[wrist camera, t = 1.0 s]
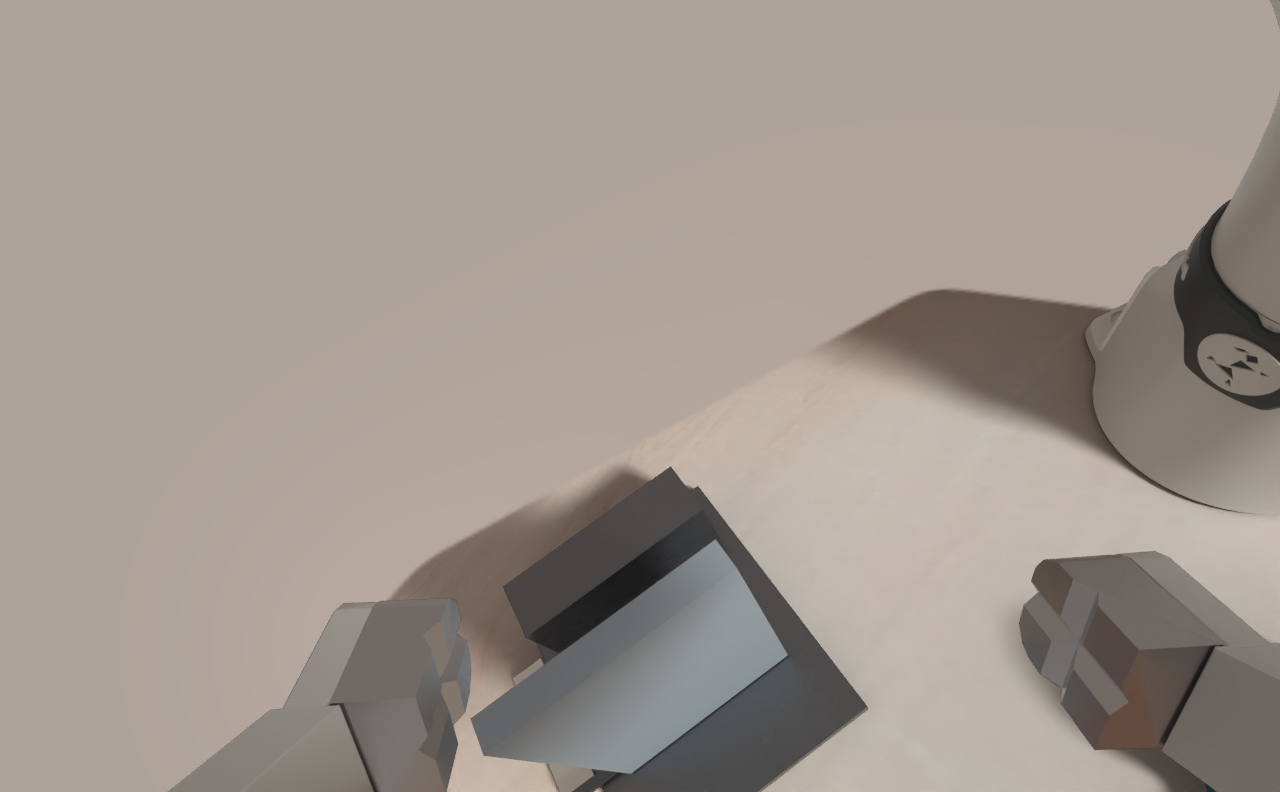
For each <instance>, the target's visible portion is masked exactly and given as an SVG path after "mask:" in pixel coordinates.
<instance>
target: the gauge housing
mask: <svg viewBox="0 0 1280 792" xmlns="http://www.w3.org/2000/svg"><path fill="white" fill-rule="evenodd" d="M715 539H716V541H717V542H718V543H719V545H720V546H721V547H722V549H723V550H724V551H725V553H726V554H727V555H728V557H729V558H730V560H731V561H732V562H733V564H734V565H735V566H736V568H737V569H738V571H739V573H740V574H741V576H742V578H743V579H744V581H745V583H746V584H747V586H748V588H749V590H750V591H751V593H752V595H753V596H754V598H755V600H756V602H757V603H758V605H759V607H760V608H761V610H762V612H763V613H764V615H765V617H766V619H767V620H768V622H769V624H770V625H771V627H772V629H773V631H774V632H775V634H776V636H777V637H778V639H779V641H780V643H781V644H782V646H783V648H784V649H785V651H786V653H787V654H788V656H786V657H785V658H784V659H782V660H781V661H780V662H778V663H777V664H776V665H774V666H773V667H772V668H770V669H769V670H768V671H766V672H765V673H764V674H762V675H761V676H760V677H758V678H757V679H756V680H754V681H753V682H752V683H750V684H749V685H748V686H746V687H745V688H744V689H743V690H741V691H740V692H739V693H737V694H736V695H735V696H733V697H732V698H731V699H729V700H728V701H727V702H725V703H724V704H723V705H721V706H720V707H719V708H717V709H716V710H715V711H713V712H712V713H711V714H709V715H708V716H707V717H705V718H704V719H703V720H701V721H700V722H699V723H697V724H696V725H695V726H694V727H692V728H691V729H690V730H688V731H687V732H686V733H684V734H683V735H682V736H680V737H679V738H678V739H676V740H675V741H674V742H672V743H671V744H670V745H668V746H667V747H666V748H664V749H663V750H662V751H660V752H659V753H658V754H656V755H655V756H654V757H652V758H651V759H650V760H648V761H647V762H646V763H645V764H643V765H642V766H641V767H639V768H638V769H637V770H635V771H634V772H633V773H631V774H629V773H621V772H619V773H617V774H616V775H615V776H613V777H612V778H611V779H610V780H608V781H607V782H606V783H604V784H603V785H602V787H603V789H604V791H605V792H761V791H762V790H764V789H765V788H766V787H768V786H769V785H770V784H772V783H773V782H774V781H775V780H777V779H778V778H779V777H781V776H782V775H783V774H785V773H786V772H787V771H788V770H790V769H791V768H792V767H794V766H795V765H796V764H797V763H799V762H800V761H801V760H803V759H804V758H805V757H807V756H808V755H809V754H810V753H812V752H813V751H814V750H816V749H817V748H818V747H820V746H821V745H822V744H823V743H825V742H826V741H827V740H829V739H830V738H831V737H833V736H834V735H835V734H836V733H838V732H839V731H840V730H842V729H843V728H844V727H845V726H847V725H848V724H849V723H851V722H852V721H853V720H855V719H856V718H857V717H858V716H860V715H861V714H862V713H864V712H865V711H866V710H868V707H867V706H866V704H865V703H864V702H863V700H862V699H861V698H860V696H859V695H858V694H857V693H856V691H855V690H854V689H853V687H852V686H851V685H850V683H849V682H848V681H847V679H846V678H845V677H844V676H843V674H842V673H841V672H840V670H839V669H838V668H837V666H836V665H835V664H834V663H833V661H832V660H831V659H830V657H829V656H828V655H827V653H826V652H825V651H824V650H823V648H822V647H821V646H820V644H819V643H818V642H817V640H816V639H815V638H814V637H813V635H812V634H811V633H810V631H809V630H808V629H807V627H806V626H805V625H804V624H803V622H802V621H801V620H800V618H799V617H798V616H797V614H796V613H795V612H794V610H793V609H792V608H791V607H790V605H789V604H788V603H787V601H786V600H785V599H784V597H783V596H782V595H781V594H780V592H779V591H778V590H777V588H776V587H775V586H774V584H773V583H772V582H771V581H770V579H769V578H768V577H767V575H766V574H765V573H764V571H763V570H762V569H761V568H760V566H759V565H758V564H757V562H756V561H755V560H754V558H753V557H752V556H751V554H750V553H749V552H748V551H747V549H746V548H745V547H744V545H743V544H742V543H741V541H740V540H739V539H738V538H737V536H736V535H735V534H734V532H733V531H732V530H731V528H730V527H729V526H728V525H727V523H726V522H725V521H724V519H723V518H722V517H721V515H720V514H719V513H718V512H717V510H716V509H715V508H714V506H713V505H712V504H711V502H710V501H709V500H708V498H707V497H706V496H705V495H704V493H703V492H702V491H701V489H700V488H699V487H698V486H697V487H696V488H695V489H693V490H692V491H690V492H689V490H688V489H687V488H686V486H685V485H684V484H683V482H682V481H681V480H680V478H679V477H678V476H677V474H676V473H675V472H674V470H673V469H672V468H671V467H669V468H668V469H666V470H665V471H664V472H662V473H661V474H659V475H658V476H657V477H655V478H654V479H653V480H651V481H650V482H648V483H647V484H646V485H644V486H643V487H641V488H640V489H639V490H637V491H636V492H634V493H633V494H632V495H630V496H629V497H627V498H626V499H625V500H623V501H622V502H620V503H619V504H618V505H616V506H615V507H614V508H612V509H611V510H609V511H608V512H607V513H605V514H604V515H602V516H601V517H600V518H598V519H597V520H595V521H594V522H593V523H591V524H590V525H588V526H587V527H586V528H584V529H583V530H581V531H580V532H579V533H577V534H576V535H575V536H573V537H572V538H570V539H569V540H568V541H566V542H565V543H563V544H562V545H561V546H559V547H558V548H556V549H555V550H554V551H552V552H551V553H549V554H548V555H547V556H545V557H544V558H542V559H541V560H540V561H538V562H537V563H535V564H534V565H533V566H531V567H530V568H529V569H527V570H526V571H524V572H523V573H522V574H520V575H519V576H517V577H516V578H515V579H513V580H512V581H510V582H509V583H508V584H506V585H505V586H503V588H504V590H505V592H506V594H507V597H508V599H509V601H510V603H511V605H512V608H513V610H514V612H515V614H516V617H517V619H518V621H519V623H520V625H521V628H522V630H523V632H524V634H525V637H526V638H528V639H530V640H532V641H534V642H536V643H537V645H538V647H539V649H540V652H541V654H542V656H543V658H544V659H542V658H540V659H539V660H537V661H536V662H535V663H533V664H532V665H530V666H529V667H528V668H526V669H525V670H524V671H522V672H521V673H519V674H518V675H517V676H515V677H514V678H513V681H514V683H515V685H517V684H519V683H520V682H521V681H523V680H524V679H526V678H527V677H528V676H530V675H531V674H532V673H534V672H535V671H536V670H538V669H539V668H541V667H542V666H543V665H545V664H546V663H547V662H549V661H550V660H551V659H553V658H554V657H556V656H557V655H558V654H560V653H561V652H562V651H564V650H565V649H566V648H568V647H569V646H571V645H572V644H573V643H575V642H576V641H577V640H579V639H580V638H582V637H583V636H584V635H586V634H587V633H588V632H590V631H591V630H592V629H594V628H595V627H597V626H598V625H599V624H601V623H602V622H603V621H605V620H606V619H607V618H609V617H610V616H612V615H613V614H614V613H616V612H617V611H618V610H620V609H621V608H623V607H624V606H625V605H627V604H628V603H629V602H631V601H632V600H633V599H635V598H636V597H638V596H639V595H640V594H642V593H643V592H644V591H646V590H647V589H648V588H650V587H651V586H653V585H654V584H655V583H657V582H658V581H659V580H661V579H662V578H663V577H665V576H666V575H668V574H669V573H670V572H672V571H673V570H674V569H676V568H677V567H679V566H680V565H681V564H683V563H684V562H685V561H687V560H688V559H689V558H691V557H692V556H694V555H695V554H696V553H698V552H699V551H700V550H702V549H703V548H704V547H706V546H707V545H709V544H710V543H711V542H713V541H714V540H715ZM548 765H549V767H550V770H551V772H552V774H553V777H554V779H555V782H556V784H557V786H558V789H559V791H560V792H572V791H574V790H575V789H576V788H578V787H579V786H580V785H581V784H583V783H584V782H585V781H587V780H588V779H589V778H591V777H592V776H593V775H595V774H596V773H597V772H599V771H600V770H596V769H588V768H580V767H572V766H564V765H556V764H548ZM600 787H601V786H600ZM600 787H599V788H600ZM599 788H598V789H599ZM596 790H597V789H596ZM596 790H595V791H596ZM595 791H594V792H595Z"/></svg>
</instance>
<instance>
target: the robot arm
mask: <svg viewBox="0 0 1280 792" xmlns="http://www.w3.org/2000/svg"><path fill="white" fill-rule="evenodd" d="M1270 1H1271V3H1272V6H1273V8H1274V11H1275V14H1276V17H1277V21H1278V25H1279V28H1280V0H1270ZM1085 336H1086V341H1087V344H1088V347H1089V349H1090V352H1091V354H1092V356H1093V358H1094V360H1095V365H1096V370H1095V378H1094V384H1093V403H1094V408H1095V413H1096V416H1097V418H1098V421H1099V423H1100V425H1101V427H1102V429H1103V431H1104V433H1105V435H1106V436H1107V438H1108V439H1109V441H1110V442H1111V443H1112V444H1113V446H1114V447H1115V448H1116V449H1117V450H1118V452H1119V453H1120V454H1121V455H1122V456H1123V457H1124V458H1125V459H1126V460H1127V461H1128V462H1130V463H1131V464H1132V465H1133V466H1134V467H1135V468H1137V469H1138V470H1139V471H1141V472H1142V473H1143V474H1145V475H1146V476H1148V477H1149V478H1151V479H1152V480H1154V481H1156V482H1157V483H1159V484H1161V485H1162V486H1164V487H1166V488H1168V489H1170V490H1172V491H1174V492H1176V493H1178V494H1180V495H1183V496H1185V497H1188V498H1190V499H1193V500H1196V501H1198V502H1201V503H1204V504H1208V505H1211V506H1215V507H1219V508H1223V509H1227V510H1232V511H1237V512H1244V513H1253V514H1268V515H1280V93H1279V97H1278V100H1277V103H1276V107H1275V109H1274V112H1273V115H1272V117H1271V119H1270V122H1269V124H1268V126H1267V129H1266V131H1265V133H1264V136H1263V138H1262V140H1261V142H1260V145H1259V147H1258V149H1257V151H1256V153H1255V155H1254V157H1253V159H1252V162H1251V164H1250V166H1249V167H1248V170H1247V171H1246V174H1245V176H1244V177H1243V179H1242V181H1241V183H1240V185H1239V187H1238V189H1237V190H1236V192H1235V194H1234V196H1233V198H1232V199H1231V200H1229V201H1227V202H1226V203H1225V204H1223V205H1222V206H1221V207H1220V208H1219V209H1218V210H1217V211H1216V212H1215V213H1214V214H1213V215H1212V216H1211V218H1210V219H1209V221H1208V222H1207V224H1206V225H1205V226H1203V228H1202V229H1201V230H1200V231H1199V232H1198V233H1197V235H1196V236H1195V238H1194V239H1193V241H1192V243H1191V244H1190V246H1189V248H1188V249H1187V250H1183V251H1181V252H1179V253H1177V254H1176V255H1175V256H1173V257H1172V258H1171V259H1170V260H1169V261H1168V263H1167V264H1166V265H1164V266H1163V267H1154V268H1152V270H1150V271H1149V272H1148V273H1147V274H1146V275H1145V277H1144V278H1143V280H1142V281H1141V283H1140V285H1139V286H1138V288H1137V289H1136V291H1135V292H1134V294H1133V296H1132V297H1131V299H1130V300H1129V302H1128V303H1126V304H1124V305H1122V306H1120V307H1117V308H1115V309H1113V310H1111V311H1109V312H1107V313H1105V314H1103V315H1101V316H1099V317H1097V318H1095V319H1094V320H1093V321H1092V322H1091V324H1090V325H1089V327H1088V328H1087V330H1086V333H1085ZM1031 582H1032V583H1033V585H1034V586H1035V588H1036V590H1037V591H1038V593H1037V594H1036V595H1035V596H1033V597H1032V598H1031V599H1030V600H1029V601H1028V602H1027V603H1025V604H1024V606H1023V610H1022V614H1021V618H1020V622H1019V625H1020V631H1021V638H1022V643H1023V645H1024V648H1025V650H1026V652H1027V655H1028V657H1029V659H1030V660H1031V662H1032V663H1033V665H1034V666H1035V667H1036V669H1037V670H1038V672H1039V673H1040V675H1042V676H1044V677H1045V678H1047V679H1048V680H1050V681H1052V682H1053V683H1055V684H1056V685H1058V686H1059V687H1061V688H1062V694H1061V704H1062V706H1063V707H1064V708H1065V710H1066V711H1067V712H1068V714H1069V715H1070V717H1071V718H1072V719H1073V721H1074V722H1075V724H1076V725H1077V726H1078V728H1079V729H1080V730H1081V732H1082V733H1083V735H1084V736H1085V737H1086V739H1087V740H1088V741H1089V743H1090V744H1091V746H1092V747H1093V748H1094V750H1107V749H1133V748H1159V747H1163V749H1162V752H1164V753H1165V754H1166V755H1168V756H1169V757H1170V758H1172V759H1173V760H1175V761H1176V762H1177V763H1179V764H1180V765H1181V766H1183V767H1184V768H1185V769H1187V770H1188V771H1190V772H1191V773H1192V774H1194V775H1195V776H1196V777H1198V778H1199V779H1200V780H1202V781H1203V782H1205V783H1206V784H1207V785H1209V786H1210V787H1211V788H1213V789H1214V790H1215V791H1217V792H1280V643H1269V642H1267V641H1266V640H1265V639H1264V638H1263V637H1262V636H1260V635H1259V634H1258V633H1257V632H1256V631H1255V630H1253V629H1252V628H1251V627H1250V626H1249V625H1248V624H1246V623H1245V622H1244V621H1243V620H1242V619H1241V618H1239V617H1238V616H1237V615H1236V614H1235V613H1234V612H1232V611H1231V610H1230V609H1229V608H1228V607H1227V606H1225V605H1224V604H1223V603H1222V602H1221V601H1220V600H1218V599H1217V598H1216V597H1215V596H1214V595H1213V594H1211V593H1210V592H1209V591H1208V590H1207V589H1206V588H1204V587H1203V586H1202V585H1201V584H1200V583H1199V582H1197V581H1196V580H1195V579H1194V578H1193V577H1192V576H1190V575H1189V574H1188V573H1187V572H1186V571H1185V570H1183V569H1182V568H1181V567H1180V566H1179V565H1178V564H1176V563H1175V562H1174V561H1173V560H1172V559H1171V558H1169V557H1167V556H1165V555H1163V554H1161V553H1158V552H1156V551H1149V552H1136V553H1123V554H1116V555H1099V556H1086V557H1072V558H1059V559H1045V560H1043V561H1042V562H1041V563H1040V564H1039V565H1038V566H1037V567H1036V568H1035V571H1034V574H1033V577H1032V580H1031ZM460 621H461V616H460V612H459V609H458V605H457V602H456V600H454V599H451V598H444V599H419V600H394V601H380V602H367V603H365V602H364V603H343V604H342V605H341V606H340V607H339V608H337V609H336V610H335V611H334V612H333V614H332V616H331V618H330V620H329V622H328V623H327V626H326V627H325V629H324V631H323V633H322V635H321V637H320V639H319V641H318V642H317V644H316V646H315V648H314V650H313V652H312V654H311V656H310V657H309V659H308V661H307V663H306V665H305V667H304V669H303V671H302V673H301V675H300V677H299V678H298V680H297V682H296V684H295V686H294V688H293V690H292V691H291V693H290V695H289V697H288V699H287V701H286V703H285V705H284V707H283V708H282V709H273V710H269V711H268V712H267V713H266V714H264V715H263V716H262V717H261V718H260V719H258V720H257V721H256V722H255V723H253V724H252V725H251V726H250V727H248V728H247V729H246V730H245V731H243V732H242V733H241V734H240V735H238V736H237V737H236V738H235V739H233V740H232V741H231V742H230V743H228V744H227V745H226V746H225V747H223V748H222V749H221V750H220V751H218V752H217V753H216V754H215V755H213V756H212V757H211V758H210V759H208V760H207V761H206V762H205V763H203V764H202V765H201V766H200V767H198V768H197V769H196V770H195V771H193V772H192V773H191V774H190V775H188V776H187V777H186V778H185V779H183V780H182V781H181V782H180V783H178V784H177V785H176V786H175V787H173V788H172V789H171V790H170V791H168V792H447V788H448V783H449V779H450V775H451V771H452V767H453V763H454V758H455V754H456V750H457V746H458V742H457V738H456V734H455V731H454V727H453V725H454V724H455V723H456V722H457V721H458V720H459V719H460V718H461V717H462V716H463V714H464V713H465V712H466V707H467V702H468V698H469V693H470V680H471V662H470V653H469V648H468V644H467V641H466V640H465V639H463V638H462V637H461V636H459V635H458V634H457V632H458V628H459V624H460Z"/></svg>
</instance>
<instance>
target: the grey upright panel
mask: <svg viewBox="0 0 1280 792" xmlns="http://www.w3.org/2000/svg"><path fill="white" fill-rule="evenodd" d="M786 656H788V654H787V653H786V651H785V649H784V648H783V646H782V644H781V643H780V641H779V639H778V637H777V636H776V634H775V632H774V631H773V629H772V627H771V625H770V624H769V622H768V620H767V619H766V617H765V615H764V613H763V612H762V610H761V608H760V607H759V605H758V603H757V602H756V600H755V598H754V596H753V595H752V593H751V591H750V590H749V588H748V586H747V584H746V583H745V581H744V579H743V578H742V576H741V574H740V573H739V571H738V569H737V568H736V566H735V565H734V564H733V562H732V561H731V560H730V558H729V557H728V555H727V554H726V553H725V551H724V550H723V549H722V547H721V546H720V545H719V543H718V542H717V541H716V539H715V540H714V541H713V542H711V543H710V544H709V545H707V546H706V547H704V548H703V549H702V550H700V551H699V552H698V553H696V554H695V555H694V556H692V557H691V558H689V559H688V560H687V561H685V562H684V563H683V564H681V565H680V566H679V567H677V568H676V569H674V570H673V571H672V572H670V573H669V574H668V575H666V576H665V577H663V578H662V579H661V580H659V581H658V582H657V583H655V584H654V585H653V586H651V587H650V588H648V589H647V590H646V591H644V592H643V593H642V594H640V595H639V596H638V597H636V598H635V599H633V600H632V601H631V602H629V603H628V604H627V605H625V606H624V607H623V608H621V609H620V610H618V611H617V612H616V613H614V614H613V615H612V616H610V617H609V618H607V619H606V620H605V621H603V622H602V623H601V624H599V625H598V626H597V627H595V628H594V629H592V630H591V631H590V632H588V633H587V634H586V635H584V636H583V637H582V638H580V639H579V640H577V641H576V642H575V643H573V644H572V645H571V646H569V647H568V648H566V649H565V650H564V651H562V652H561V653H560V654H558V655H557V656H556V657H554V658H553V659H551V660H550V661H549V662H547V663H546V664H545V665H543V666H542V667H541V668H539V669H538V670H536V671H535V672H534V673H532V674H531V675H530V676H528V677H527V678H526V679H524V680H523V681H521V682H520V683H519V684H517V685H516V686H515V687H513V688H512V689H510V690H509V691H508V692H506V693H505V694H504V695H502V696H501V697H500V698H498V699H497V700H495V701H494V702H493V703H491V704H490V705H489V706H487V707H486V708H485V709H483V710H482V711H480V712H479V713H478V714H476V715H475V716H474V717H472V718H471V721H472V724H473V727H474V730H475V732H476V735H477V738H478V741H479V744H480V746H481V749H482V752H483V755H484V756H491V757H499V758H507V759H515V760H523V761H531V762H539V763H548V764H556V765H564V766H572V767H580V768H588V769H596V770H600V771H599V772H597V773H596V774H595V775H593V776H592V777H591V778H589V779H588V780H587V781H585V782H584V783H583V784H581V785H580V786H579V787H578V788H576V789H575V790H574V791H572V792H594V791H595V790H596V789H598V788H599V787H600V786H602V785H603V784H604V783H606V782H607V781H608V780H610V779H611V778H612V777H613V776H615V775H616V774H617V773H619V772H621V773H629V774H631V773H633V772H634V771H635V770H637V769H638V768H639V767H641V766H642V765H643V764H645V763H646V762H647V761H648V760H650V759H651V758H652V757H654V756H655V755H656V754H658V753H659V752H660V751H662V750H663V749H664V748H666V747H667V746H668V745H670V744H671V743H672V742H674V741H675V740H676V739H678V738H679V737H680V736H682V735H683V734H684V733H686V732H687V731H688V730H690V729H691V728H692V727H694V726H695V725H696V724H697V723H699V722H700V721H701V720H703V719H704V718H705V717H707V716H708V715H709V714H711V713H712V712H713V711H715V710H716V709H717V708H719V707H720V706H721V705H723V704H724V703H725V702H727V701H728V700H729V699H731V698H732V697H733V696H735V695H736V694H737V693H739V692H740V691H741V690H743V689H744V688H745V687H746V686H748V685H749V684H750V683H752V682H753V681H754V680H756V679H757V678H758V677H760V676H761V675H762V674H764V673H765V672H766V671H768V670H769V669H770V668H772V667H773V666H774V665H776V664H777V663H778V662H780V661H781V660H782V659H784V658H785V657H786Z"/></svg>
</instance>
